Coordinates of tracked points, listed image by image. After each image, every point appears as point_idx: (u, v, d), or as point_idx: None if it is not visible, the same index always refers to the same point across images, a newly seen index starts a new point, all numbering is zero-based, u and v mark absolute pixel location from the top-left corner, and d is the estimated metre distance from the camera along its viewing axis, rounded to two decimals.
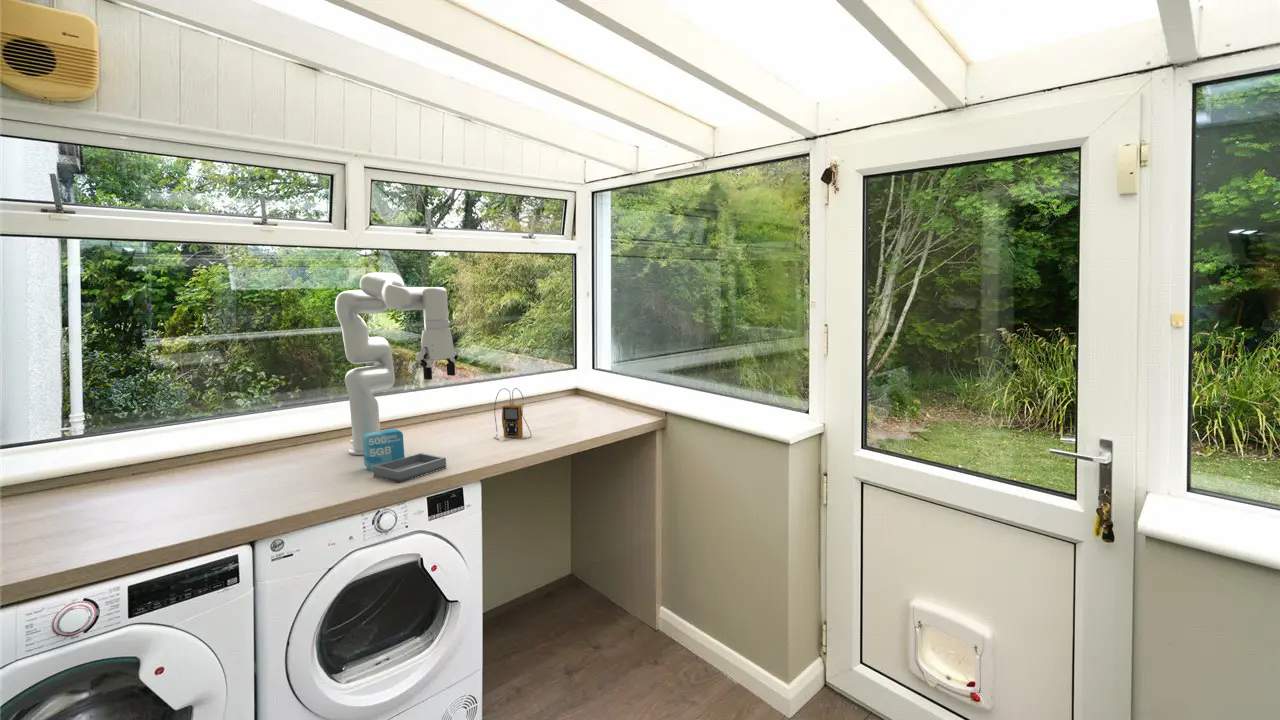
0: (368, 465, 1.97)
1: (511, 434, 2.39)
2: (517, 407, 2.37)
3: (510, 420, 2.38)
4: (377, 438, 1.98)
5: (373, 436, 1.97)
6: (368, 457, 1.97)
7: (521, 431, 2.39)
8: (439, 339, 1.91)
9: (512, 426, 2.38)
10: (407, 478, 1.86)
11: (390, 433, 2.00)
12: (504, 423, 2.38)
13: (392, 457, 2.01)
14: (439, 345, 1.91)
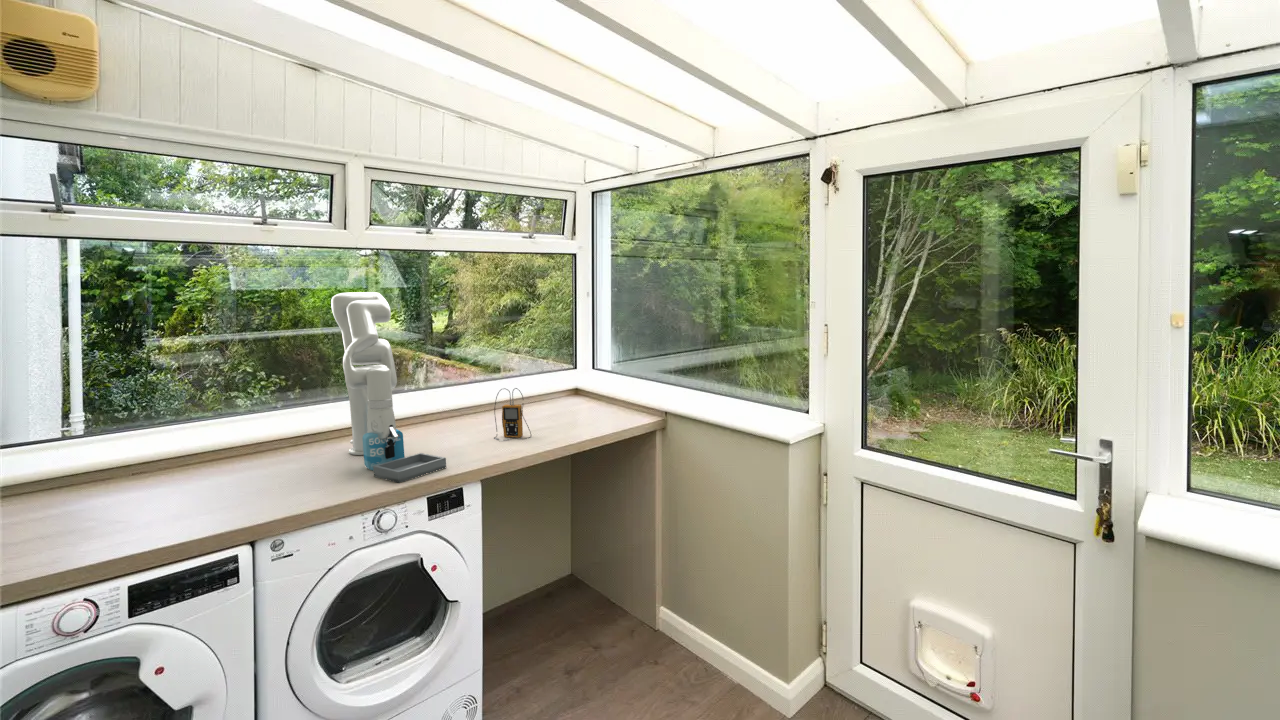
0: (368, 465, 1.97)
1: (511, 434, 2.39)
2: (517, 407, 2.37)
3: (510, 420, 2.38)
4: None
5: (373, 436, 1.97)
6: (368, 457, 1.96)
7: (521, 431, 2.39)
8: None
9: (512, 426, 2.38)
10: (407, 478, 1.86)
11: None
12: (504, 423, 2.38)
13: None
14: None
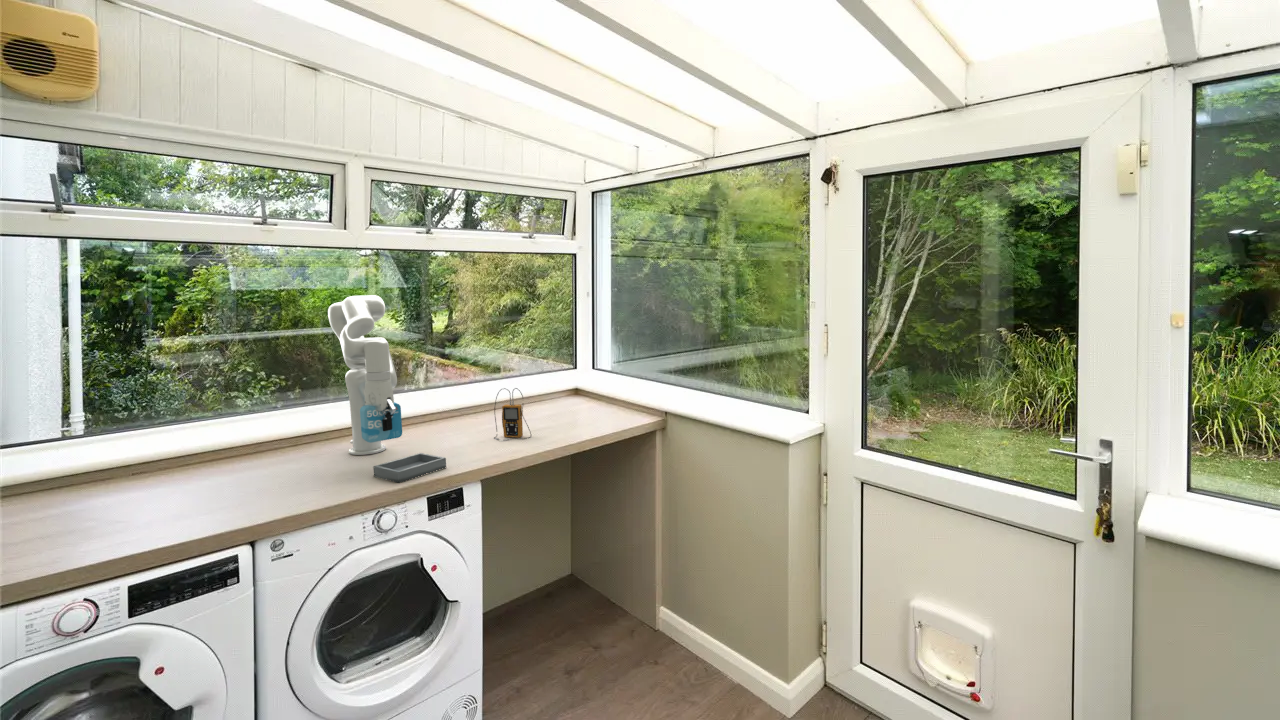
0: (366, 437, 1.96)
1: (511, 434, 2.39)
2: (517, 407, 2.37)
3: (510, 420, 2.38)
4: None
5: (371, 408, 1.96)
6: (366, 430, 1.96)
7: (521, 431, 2.39)
8: None
9: (512, 426, 2.38)
10: (407, 478, 1.86)
11: None
12: (504, 423, 2.38)
13: None
14: None
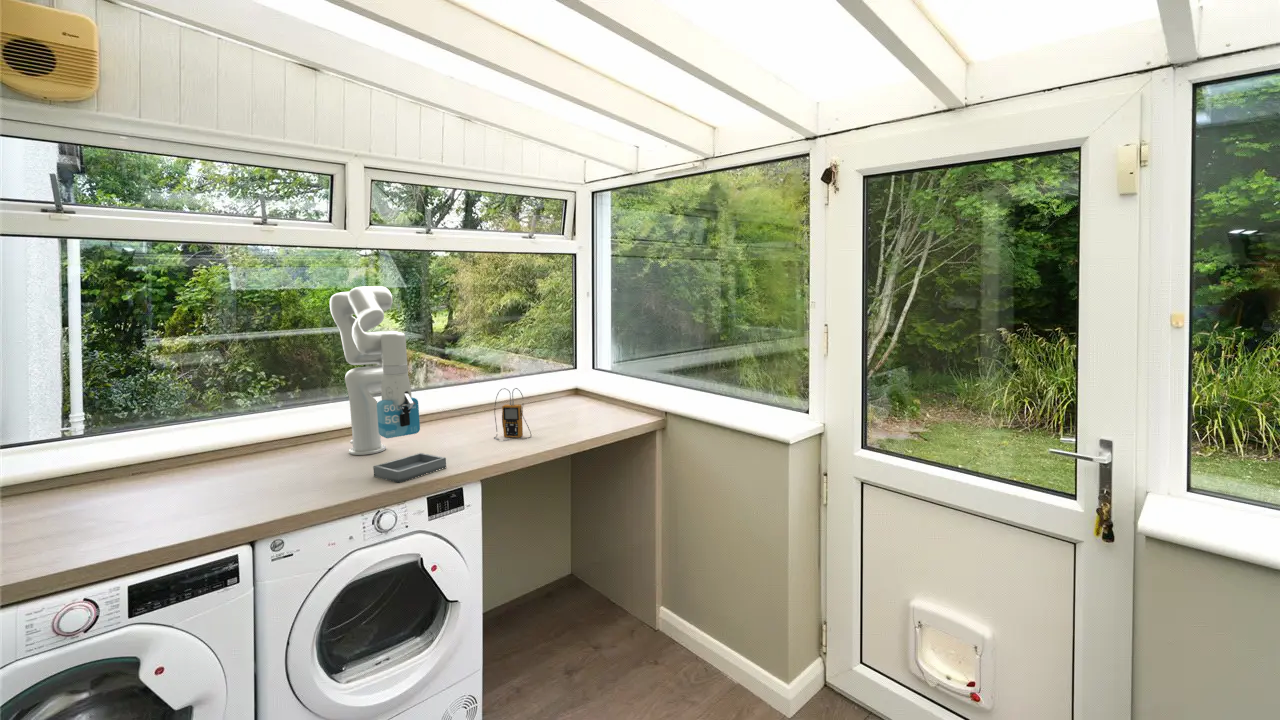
0: (383, 433, 1.90)
1: (511, 434, 2.39)
2: (517, 407, 2.37)
3: (510, 420, 2.38)
4: (393, 405, 1.91)
5: (388, 403, 1.90)
6: (383, 425, 1.90)
7: (521, 431, 2.39)
8: None
9: (512, 426, 2.38)
10: (407, 478, 1.86)
11: None
12: (504, 423, 2.38)
13: (408, 425, 1.95)
14: None
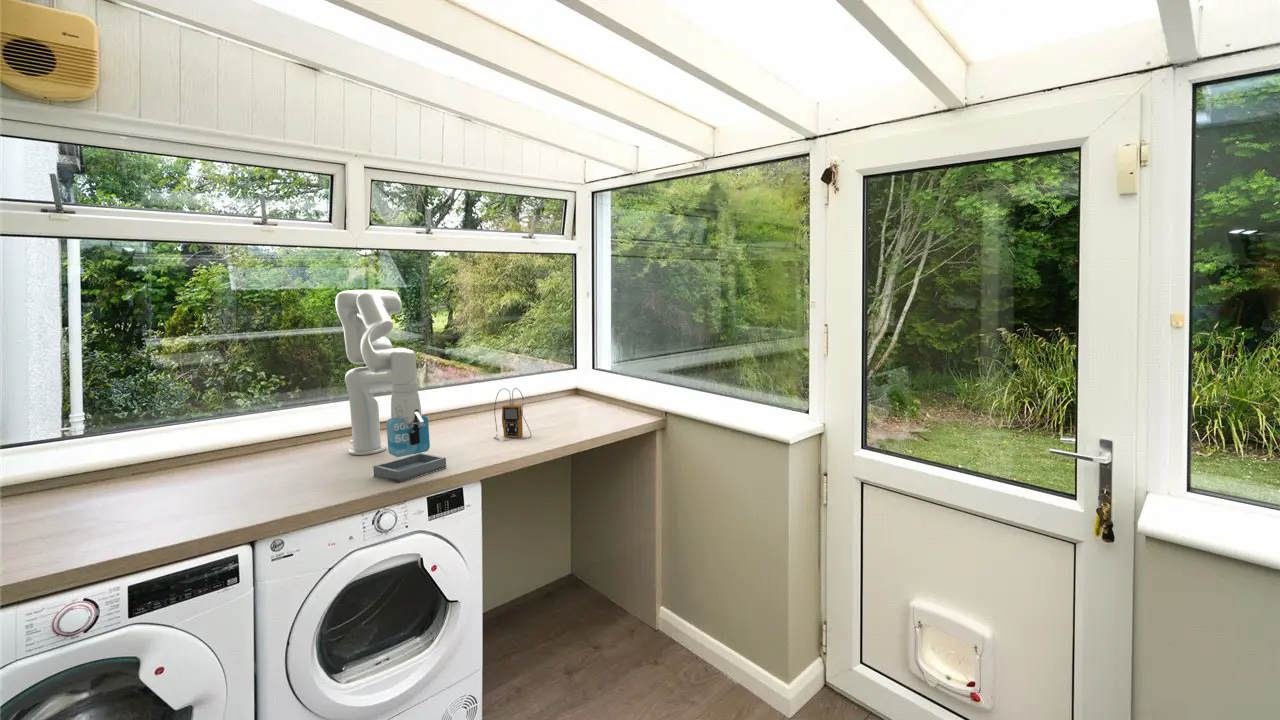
0: (393, 451, 1.88)
1: (511, 434, 2.39)
2: (517, 407, 2.37)
3: (510, 420, 2.38)
4: None
5: (398, 421, 1.89)
6: (393, 444, 1.88)
7: (521, 431, 2.39)
8: None
9: (512, 426, 2.38)
10: (407, 478, 1.86)
11: None
12: (504, 423, 2.38)
13: None
14: None
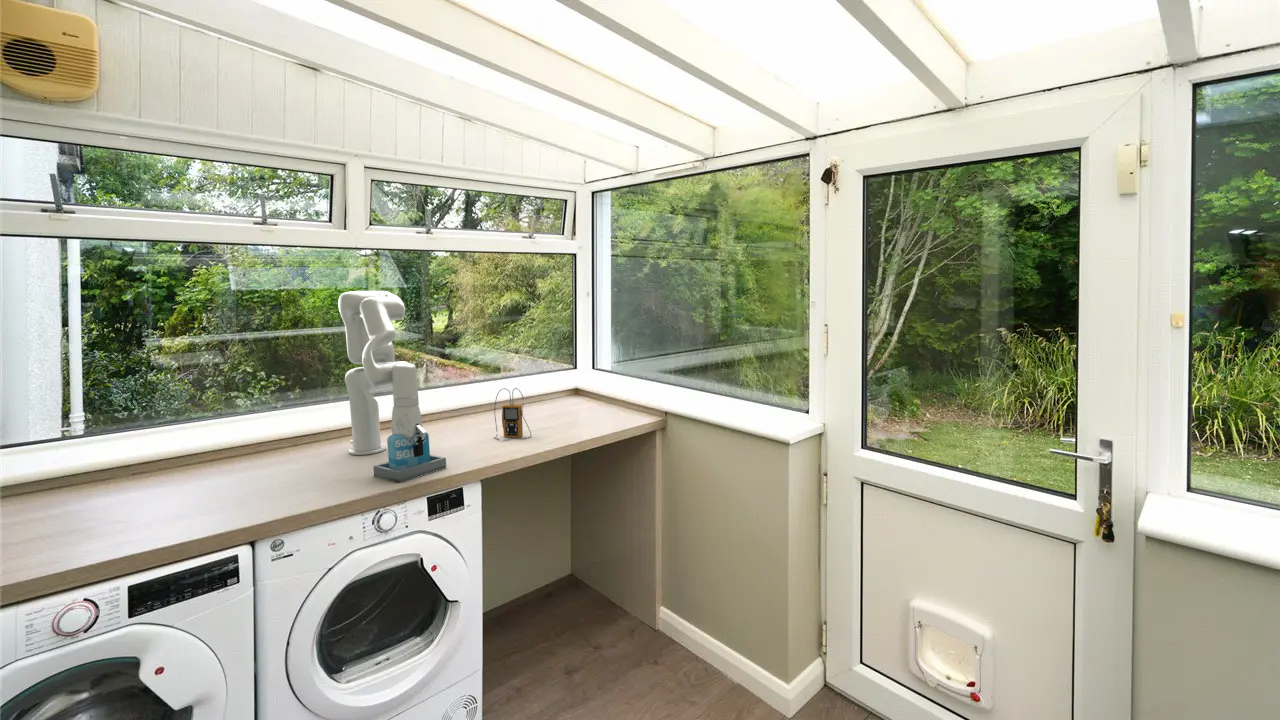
0: (395, 468, 1.89)
1: (511, 434, 2.39)
2: (517, 407, 2.37)
3: (510, 420, 2.38)
4: (404, 440, 1.90)
5: (399, 438, 1.89)
6: (395, 460, 1.89)
7: (521, 431, 2.39)
8: None
9: (512, 426, 2.38)
10: (407, 478, 1.86)
11: (416, 434, 1.93)
12: (504, 423, 2.38)
13: (419, 459, 1.94)
14: None
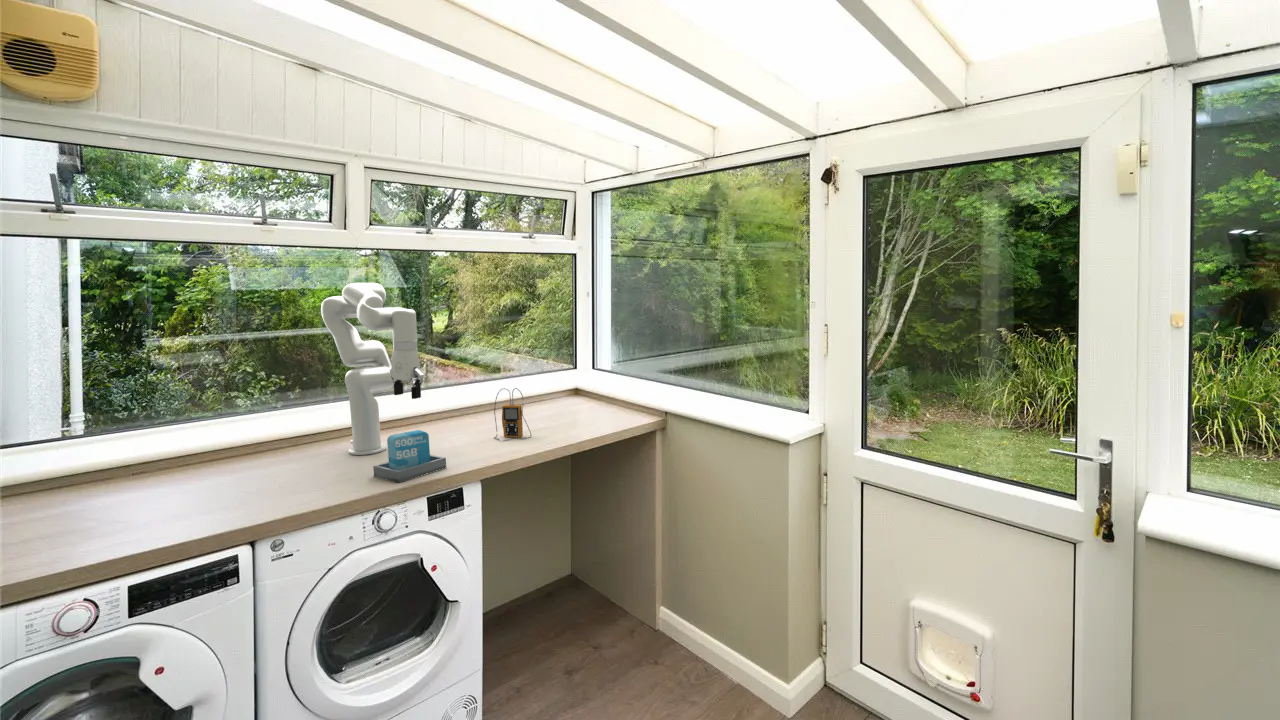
0: (395, 468, 1.89)
1: (511, 434, 2.39)
2: (517, 407, 2.37)
3: (510, 421, 2.38)
4: (404, 440, 1.90)
5: (400, 438, 1.89)
6: (395, 460, 1.89)
7: (521, 431, 2.39)
8: None
9: (512, 426, 2.38)
10: (407, 478, 1.86)
11: (416, 434, 1.93)
12: (504, 423, 2.38)
13: (418, 459, 1.94)
14: None
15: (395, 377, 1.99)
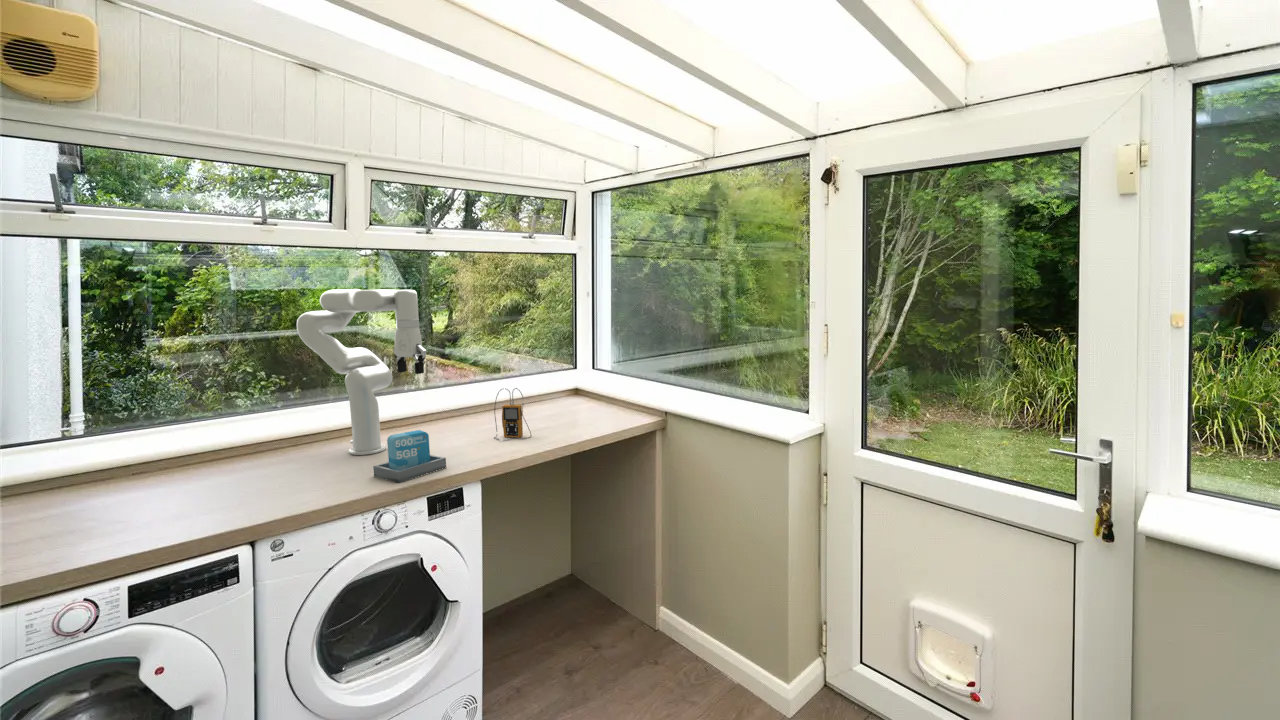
0: (395, 468, 1.89)
1: (511, 434, 2.39)
2: (517, 407, 2.37)
3: (510, 420, 2.38)
4: (404, 440, 1.90)
5: (400, 438, 1.89)
6: (395, 460, 1.89)
7: (521, 431, 2.39)
8: None
9: (512, 426, 2.38)
10: (407, 478, 1.86)
11: (416, 434, 1.93)
12: (504, 423, 2.38)
13: (419, 459, 1.94)
14: None
15: (399, 354, 2.10)
